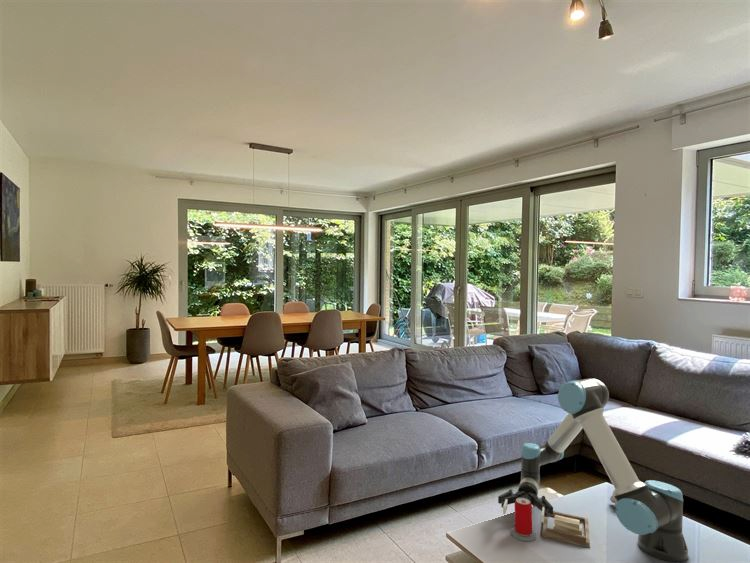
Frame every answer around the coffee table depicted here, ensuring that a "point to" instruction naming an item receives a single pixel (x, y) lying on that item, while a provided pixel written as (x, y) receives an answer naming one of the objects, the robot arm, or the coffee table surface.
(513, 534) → the slate pad
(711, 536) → the coffee table surface
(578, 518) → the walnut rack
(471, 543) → the coffee table surface
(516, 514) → the beverage can
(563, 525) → the plywood offcut stack
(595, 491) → the coffee table surface
